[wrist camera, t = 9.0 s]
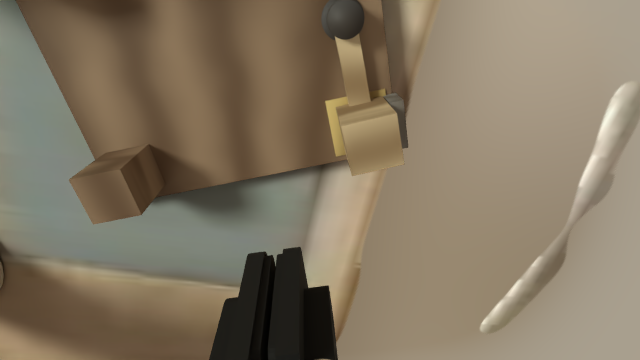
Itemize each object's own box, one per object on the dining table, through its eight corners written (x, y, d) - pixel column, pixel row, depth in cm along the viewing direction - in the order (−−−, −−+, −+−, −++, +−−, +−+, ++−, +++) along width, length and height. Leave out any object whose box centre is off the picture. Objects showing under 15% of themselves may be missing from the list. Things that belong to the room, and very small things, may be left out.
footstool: (127, 194, 33) (86, 238, 27) (-6, -84, 24) (-115, -116, 18) (396, 140, 32) (419, 173, 26) (359, -174, 23) (381, -242, 17)
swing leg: (313, 6, 25) (315, 6, 21) (365, -7, 25) (379, -10, 20) (344, 150, 30) (352, 176, 25) (389, 139, 29) (404, 164, 25)
